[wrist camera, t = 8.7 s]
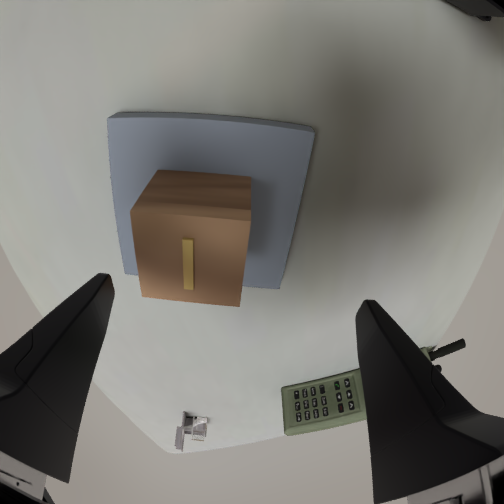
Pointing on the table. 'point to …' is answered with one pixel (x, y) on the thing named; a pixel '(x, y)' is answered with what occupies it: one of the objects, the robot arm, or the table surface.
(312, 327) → the table surface
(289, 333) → the table surface
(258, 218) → the light switch plate
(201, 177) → the taped cardboard box
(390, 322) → the robot arm
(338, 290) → the table surface
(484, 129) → the table surface
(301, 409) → the handheld radio
